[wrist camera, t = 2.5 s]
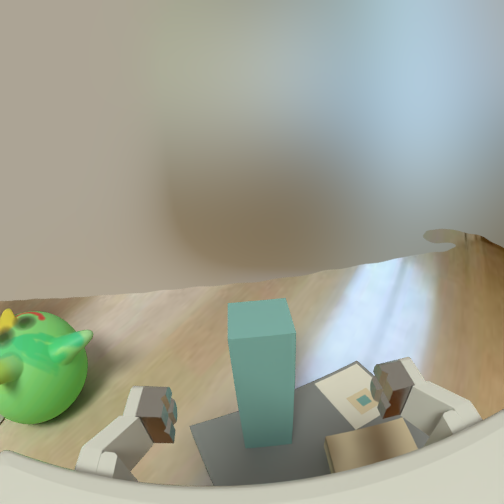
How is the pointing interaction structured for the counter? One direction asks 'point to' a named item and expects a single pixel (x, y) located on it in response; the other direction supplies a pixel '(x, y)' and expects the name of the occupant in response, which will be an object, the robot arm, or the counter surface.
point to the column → (263, 369)
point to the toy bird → (39, 365)
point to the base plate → (311, 435)
